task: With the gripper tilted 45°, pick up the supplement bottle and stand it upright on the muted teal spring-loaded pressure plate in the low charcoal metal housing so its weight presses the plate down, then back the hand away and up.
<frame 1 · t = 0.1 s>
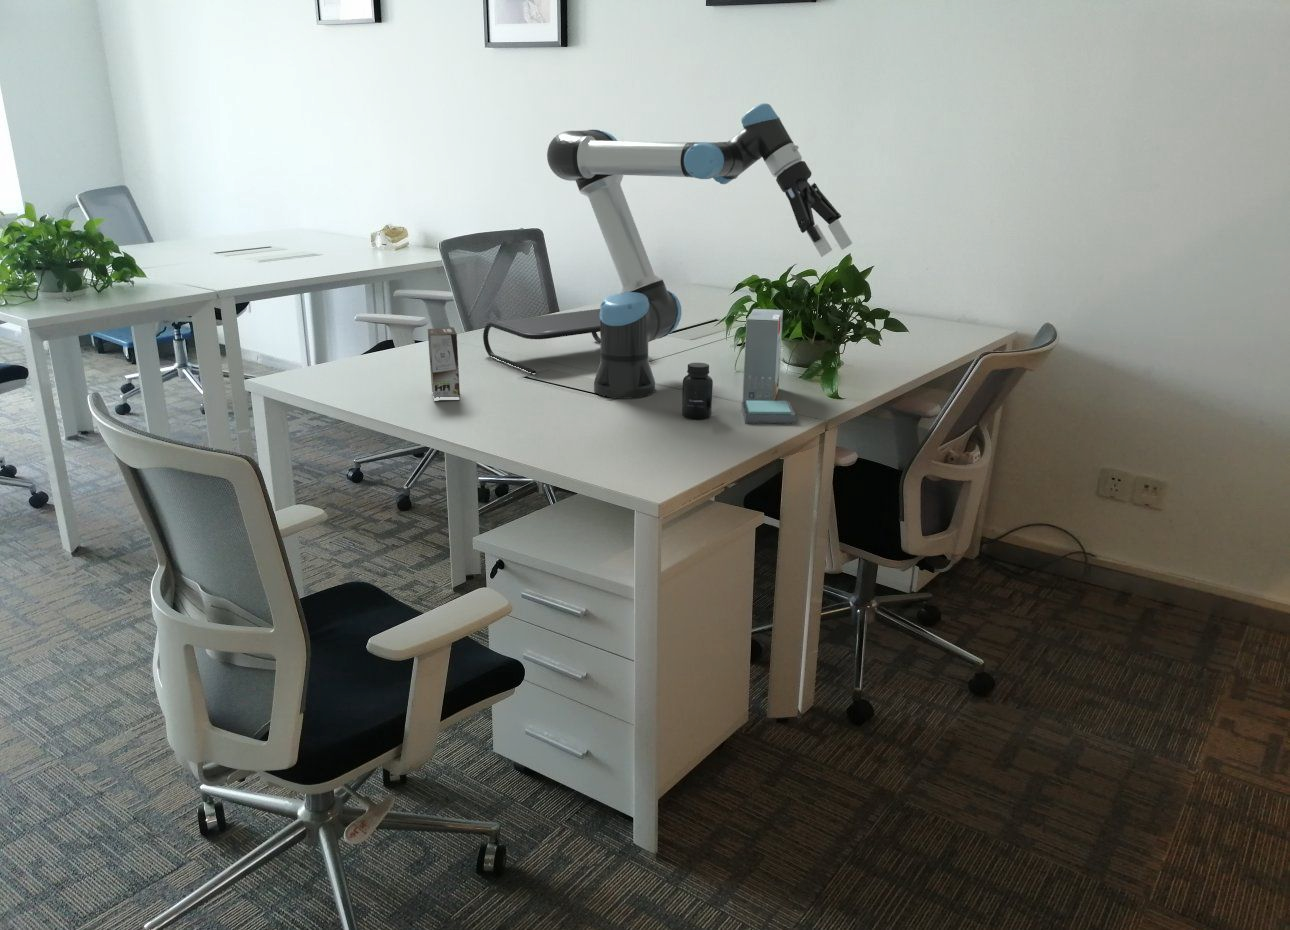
hand: (837, 250, 231), 36 cm above the table, tool tilted 35°, fingers open, 13 cm apart
hard drive box: (761, 396, 250), on the table
supplement bottle: (696, 417, 233), on the table
monitor stand: (564, 358, 290), on the table
scale plate: (767, 408, 232), point 2 cm above the table, slide at 0.0 cm, touching scale base
scale base: (767, 416, 233), on the table
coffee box: (446, 397, 248), on the table
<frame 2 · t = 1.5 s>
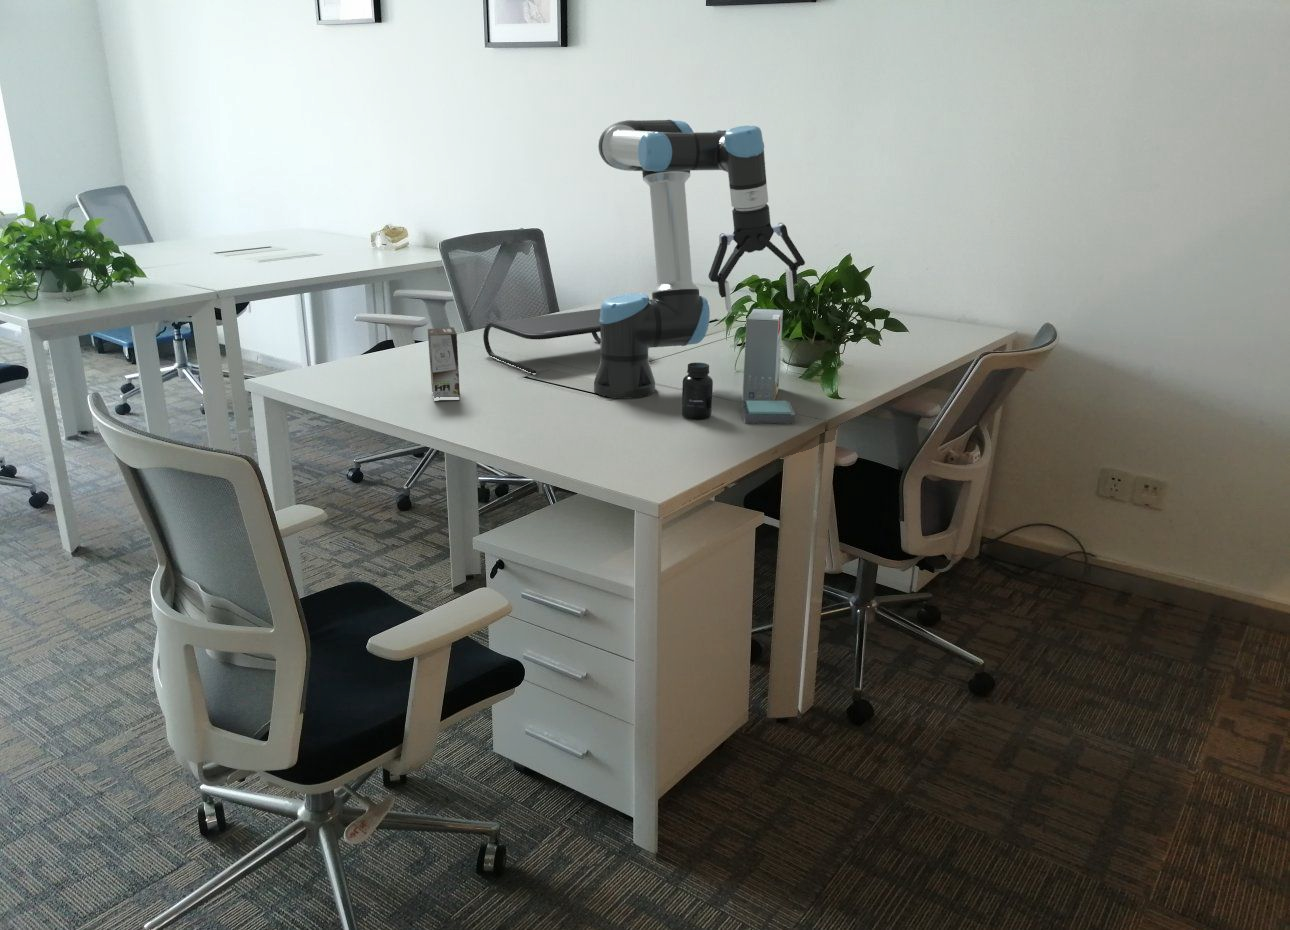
hand: (760, 304, 219), 26 cm above the table, tool pointing down, fingers open, 13 cm apart
nothing on the table moved.
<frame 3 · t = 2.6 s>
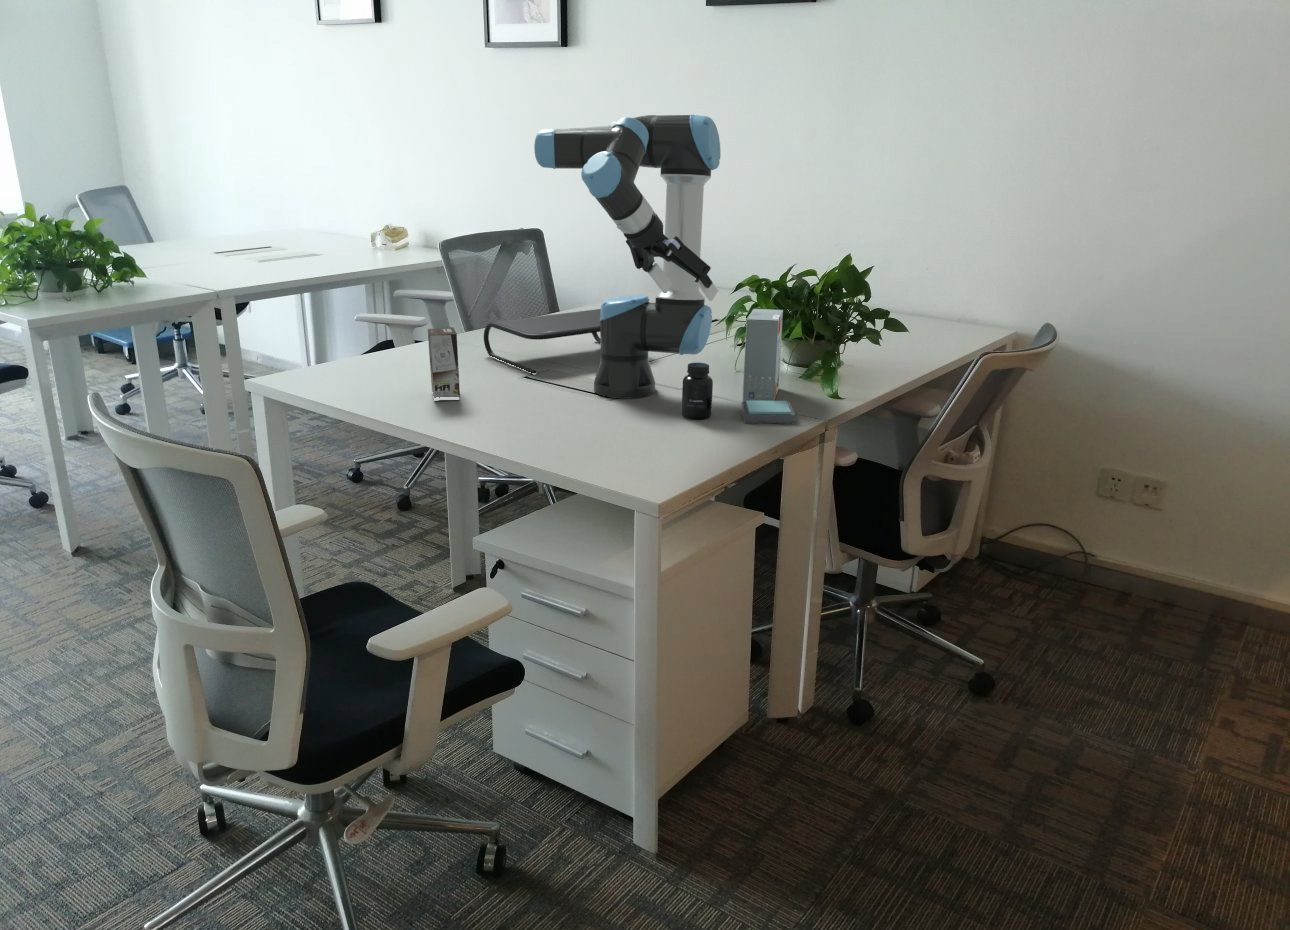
hand: (690, 292, 216), 29 cm above the table, tool tilted 45°, fingers open, 13 cm apart
nothing on the table moved.
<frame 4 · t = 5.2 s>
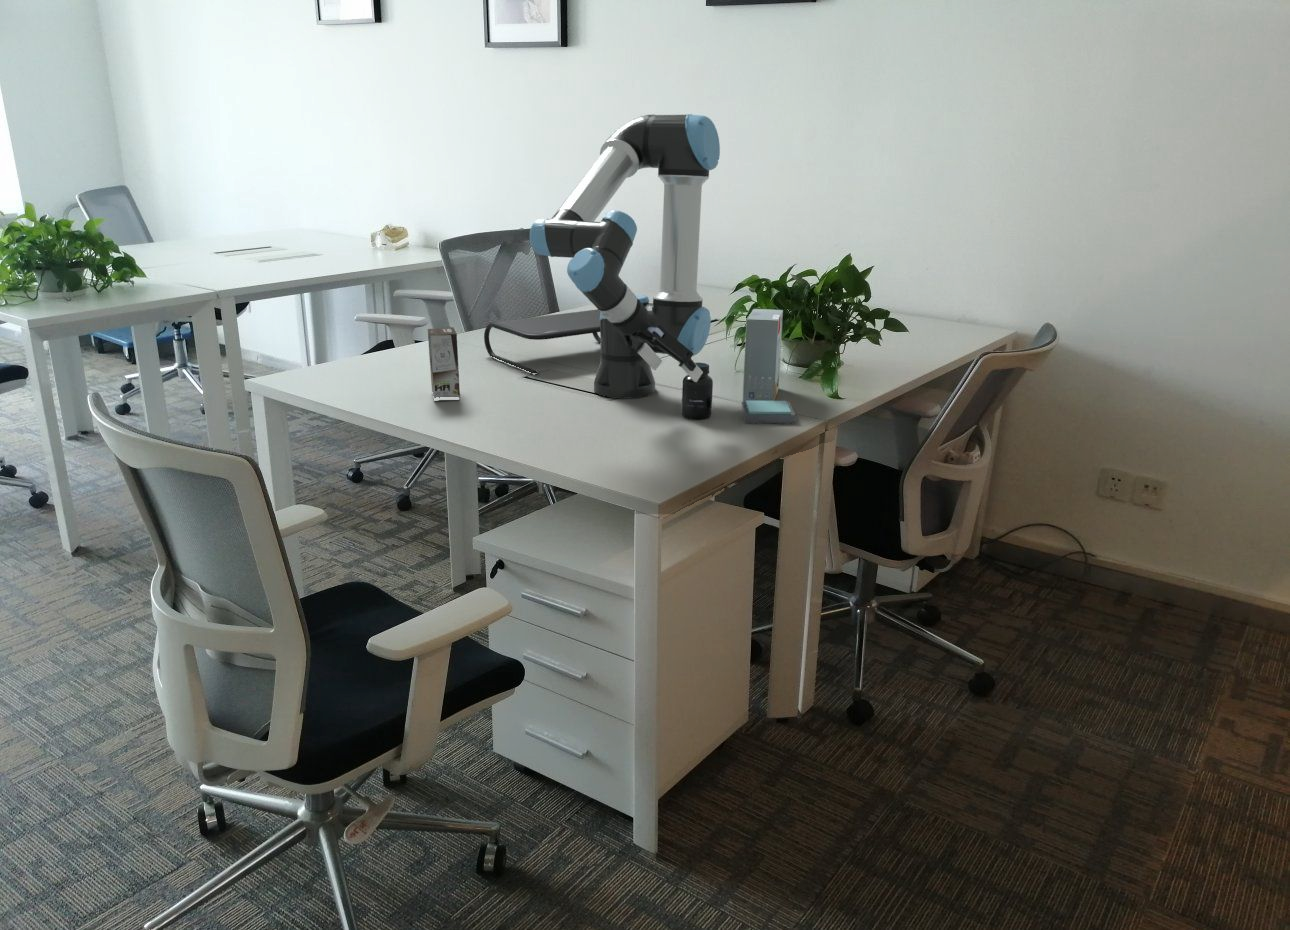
hand: (677, 371, 225), 12 cm above the table, tool tilted 45°, fingers open, 13 cm apart
nothing on the table moved.
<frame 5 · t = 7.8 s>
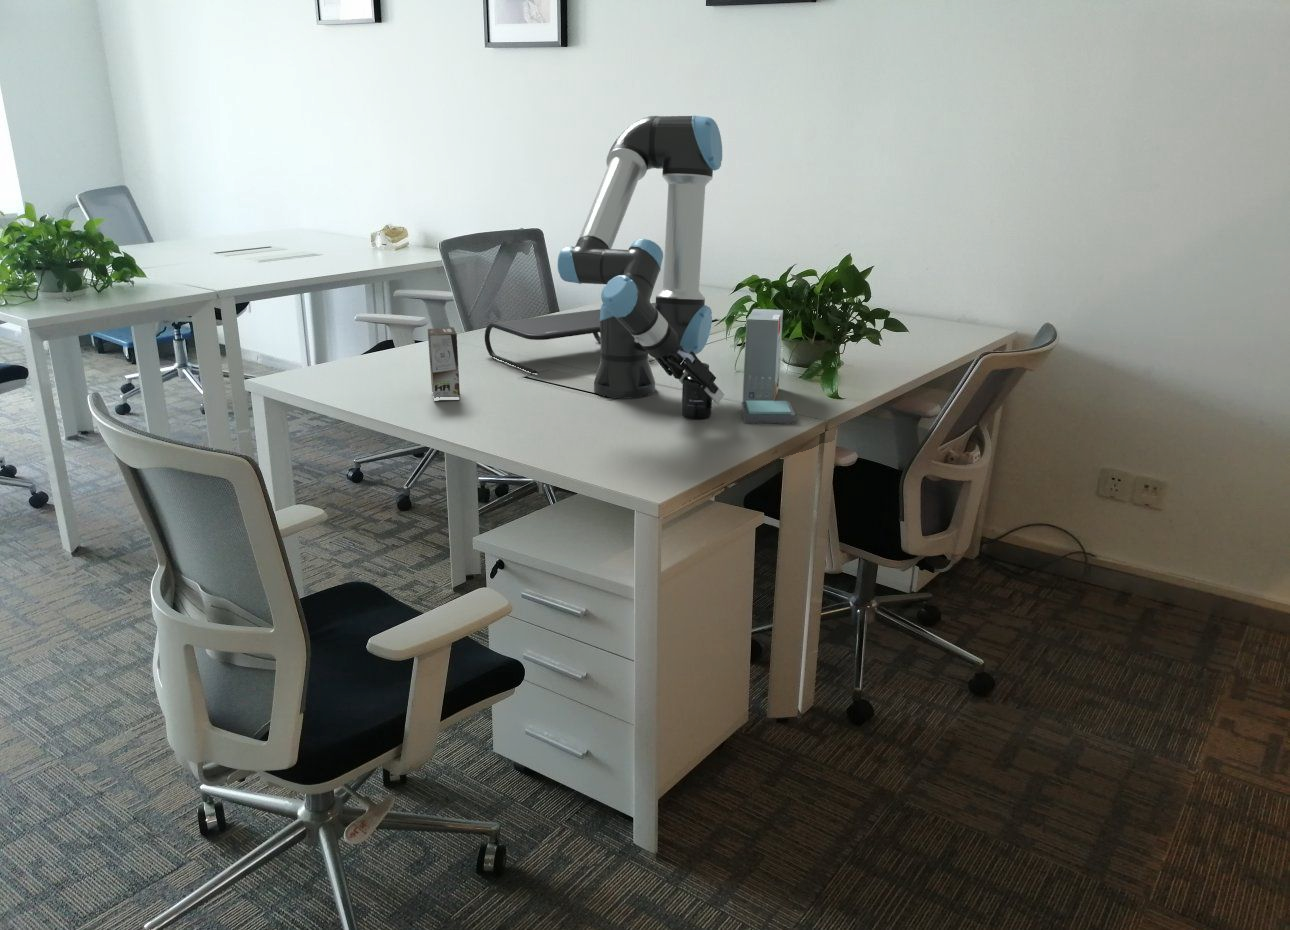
hand: (708, 395, 233), 4 cm above the table, tool tilted 45°, fingers closed on supplement bottle, 7 cm apart
supplement bottle: (696, 417, 233), on the table, touching gripper
everything else where it was.
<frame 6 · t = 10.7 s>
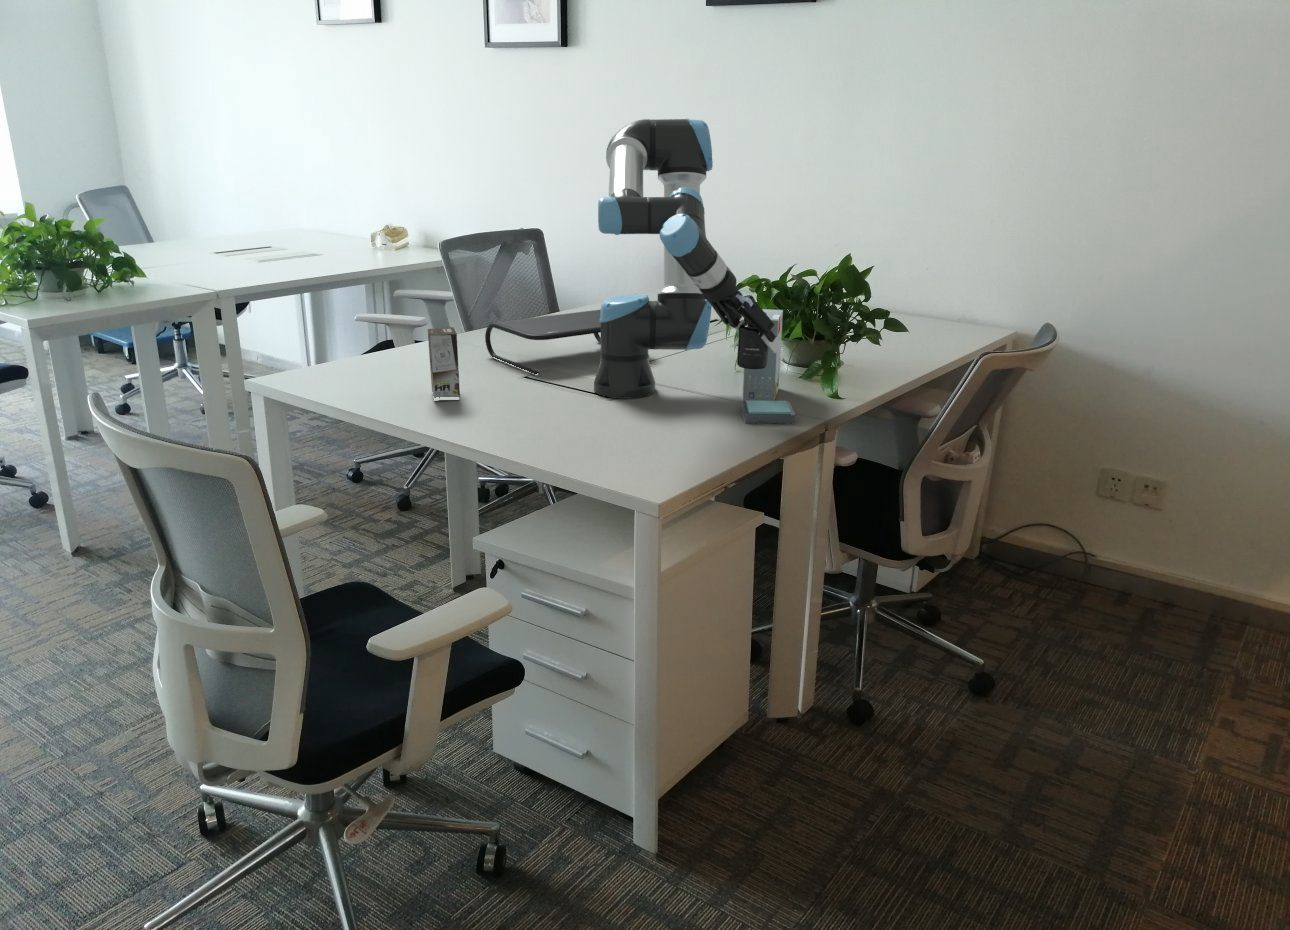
hand: (765, 345, 228), 16 cm above the table, tool tilted 45°, fingers closed on supplement bottle, 7 cm apart
supplement bottle: (752, 367, 227), point 12 cm above the table, touching gripper
when the fingers open (9 cm above the table, at t = 13.6 s): supplement bottle drops 2 cm, resting on scale plate.
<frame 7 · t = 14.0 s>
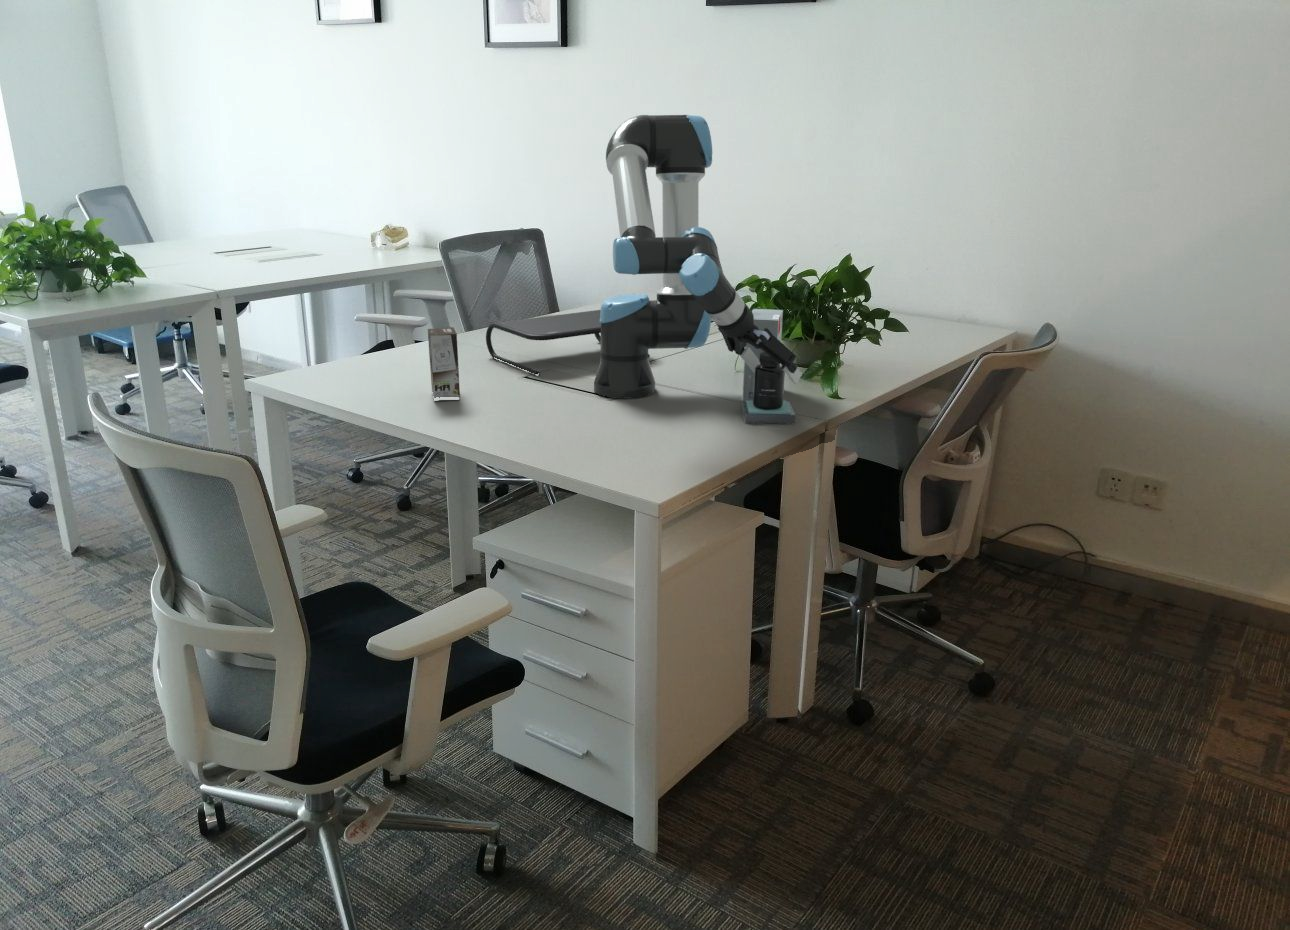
hand: (777, 373, 231), 10 cm above the table, tool tilted 45°, fingers open, 11 cm apart
supplement bottle: (767, 406, 232), point 2 cm above the table, touching scale plate
scale plate: (767, 408, 232), point 2 cm above the table, slide at 0.0 cm, touching scale base, supplement bottle
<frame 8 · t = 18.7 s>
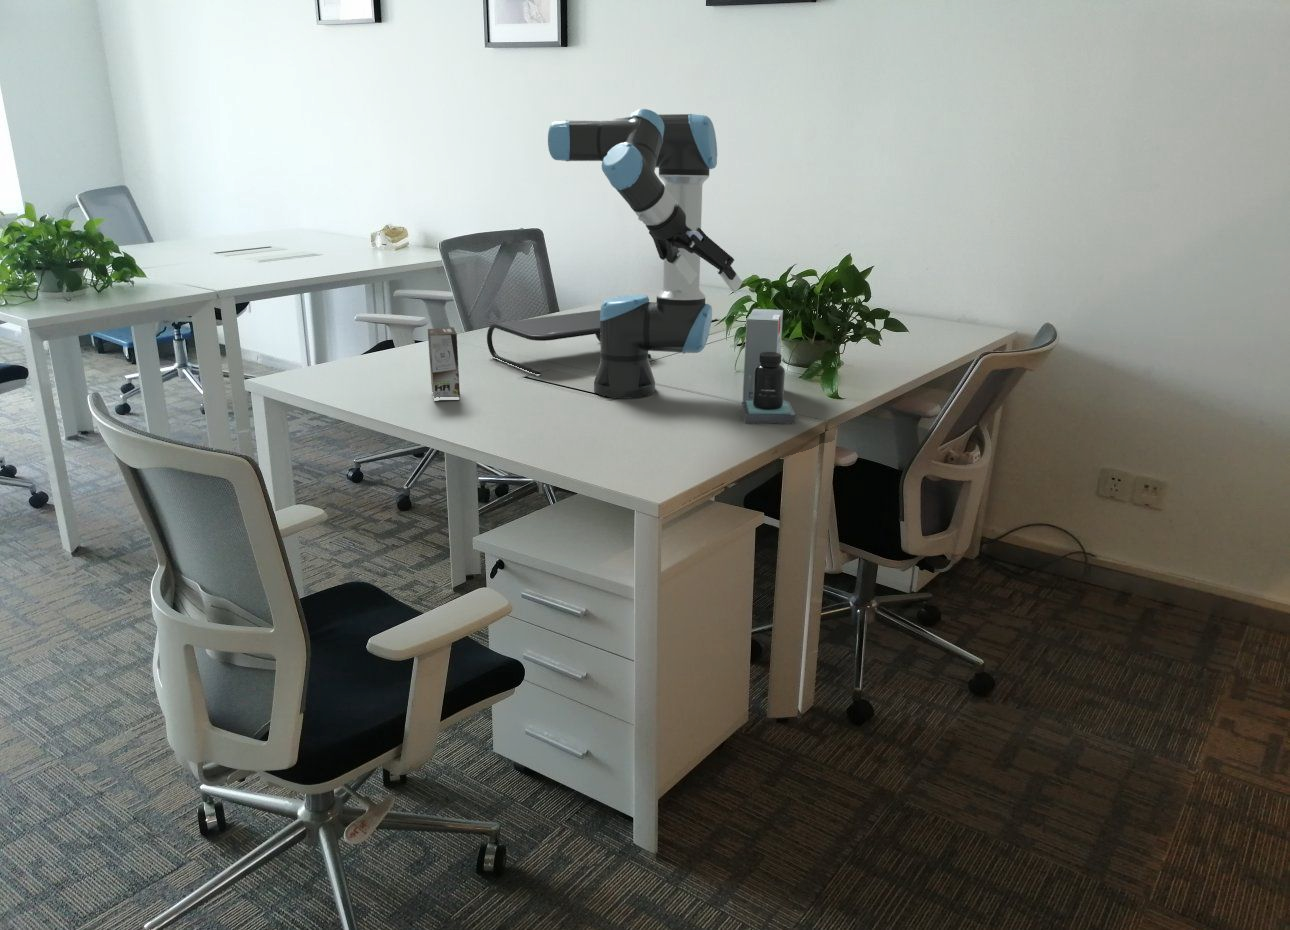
hand: (715, 283, 212), 32 cm above the table, tool tilted 45°, fingers open, 13 cm apart
at the end: supplement bottle 0.1 cm off-centre on the scale base, point 2.3 cm above the scale base's base; supplement bottle tilted 0°; supplement bottle touching scale plate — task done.
